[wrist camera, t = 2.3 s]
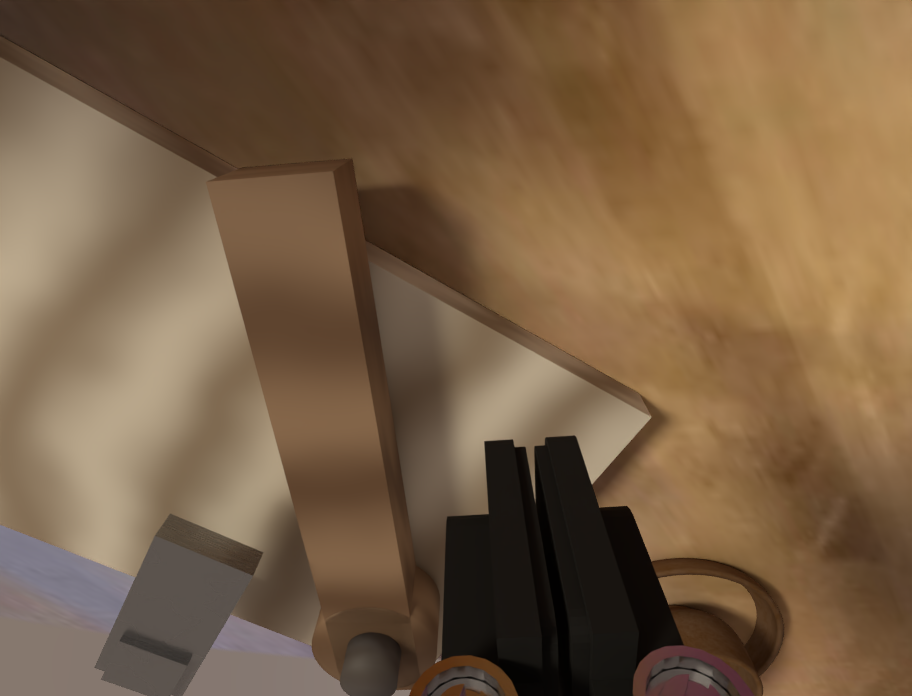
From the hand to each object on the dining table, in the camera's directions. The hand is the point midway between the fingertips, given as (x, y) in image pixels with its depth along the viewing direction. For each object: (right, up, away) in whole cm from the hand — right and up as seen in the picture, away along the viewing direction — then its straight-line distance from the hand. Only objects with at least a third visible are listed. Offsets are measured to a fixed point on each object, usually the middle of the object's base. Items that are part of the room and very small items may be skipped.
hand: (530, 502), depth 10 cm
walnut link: (-6, -2, +15) cm, 16 cm away
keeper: (-13, -6, +19) cm, 24 cm away
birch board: (-12, 0, +17) cm, 21 cm away
